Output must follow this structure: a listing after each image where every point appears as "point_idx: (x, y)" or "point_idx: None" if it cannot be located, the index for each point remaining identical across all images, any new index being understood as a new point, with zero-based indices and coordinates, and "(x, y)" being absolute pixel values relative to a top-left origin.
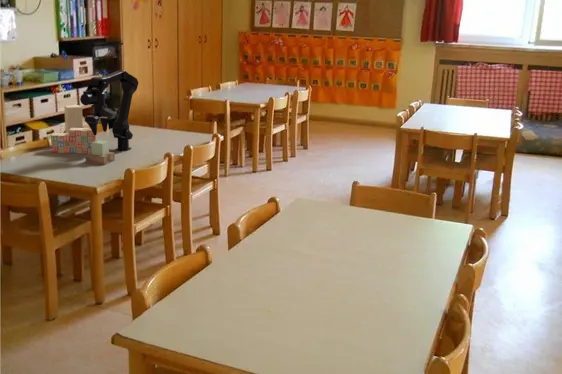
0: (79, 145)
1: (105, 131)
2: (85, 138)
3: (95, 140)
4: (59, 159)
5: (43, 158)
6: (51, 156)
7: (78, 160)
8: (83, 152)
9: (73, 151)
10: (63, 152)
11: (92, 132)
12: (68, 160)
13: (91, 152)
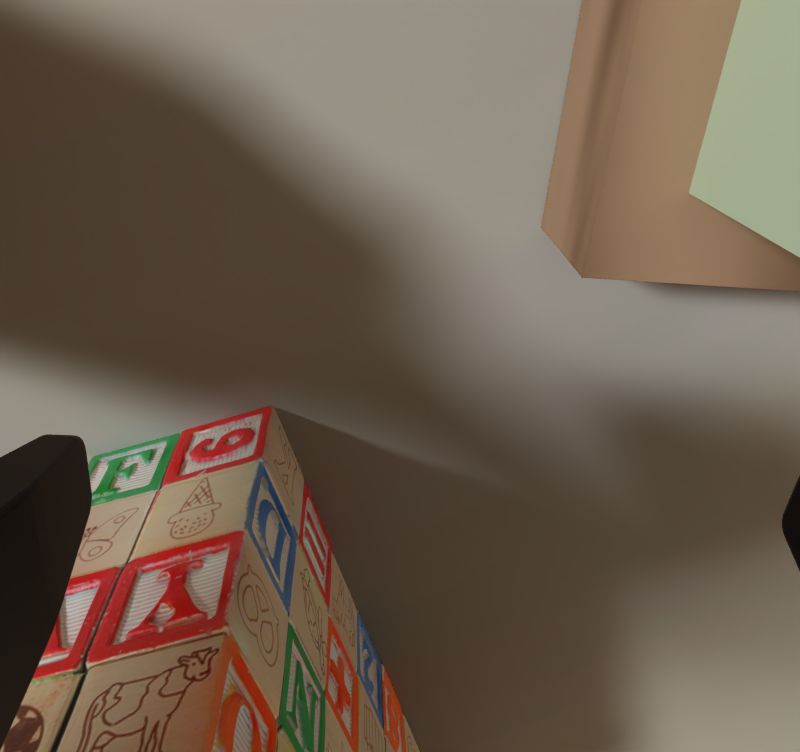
0: (337, 667)
1: (76, 444)
2: (294, 712)
3: None
4: (726, 617)
5: (709, 748)
6: (606, 731)
7: (744, 411)
8: (322, 540)
9: (365, 649)
10: (403, 718)
11: (212, 748)
12: (761, 517)
13: (284, 445)
